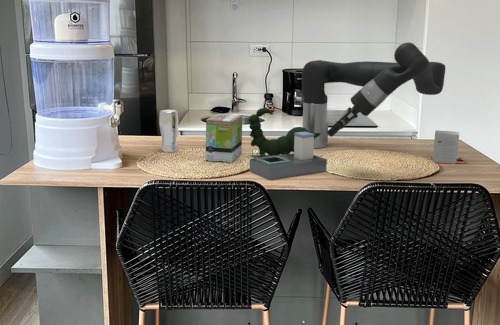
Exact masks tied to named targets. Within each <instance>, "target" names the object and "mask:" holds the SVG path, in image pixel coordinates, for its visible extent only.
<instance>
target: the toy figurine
mask: <svg viewBox="0 0 500 325" xmlns="http://www.w3.org/2000/svg"><path fill="white" fill-rule="evenodd" d="M265 114H270V115H273V114H274V113H273V111H272V110H271V109H270V108H267V107H261V108H259V109H257V110H256V113H254V114H251V115H250V116H249V118H248V121H249V122H250V124H249V129H250V130H251V131H250V134H249V136H250V137H251V138H252V140H251V141H250V146H251V147H256V148H257V147H258V150H259V151H258V154H259V156H265V154H267V155H268V156H278V155H286V154H292V153H294V137H295V136H294V133H297V132H309V131H308V130H307V129H305V128H303V126H296V127H293V128H291V129H290V130H288V132H287V134H286V135H282V136H279V137H278V138H277V139H275V138H274V139H268V138H266V136H265V135H264V132H263V129H262V125H261V124H262V123H261V122H260V117H263V116H264V115H265ZM309 133H312V132H309ZM313 134H314V139H315V138H316V137H318V136H319V135H320V133H313Z"/></svg>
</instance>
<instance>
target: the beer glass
mask: <svg viewBox="0 0 500 325" xmlns="http://www.w3.org/2000/svg"><path fill="white" fill-rule="evenodd" d="M158 117H159V118H158V119H159V120H158V121H159V122H158V123H159V130H160V135H161V150H160V151H161V152H162V151H163V152H162V153H175V152H178V143H177V139H178V138H177V137H178V132H179V114H178V110H177V109H161V110H159V116H158Z"/></svg>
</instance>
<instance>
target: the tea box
mask: <svg viewBox="0 0 500 325" xmlns="http://www.w3.org/2000/svg"><path fill="white" fill-rule="evenodd" d="M242 145H243V115H242V114H229V113H228V114H227V113H216V114H214V115H213V116H210V117H209V118H207V119H206V120H205V158H204V159H205V161H206V160H208V161H207V162H216V161H223V162H222V163H232V162H233V161H235V160H236V159H237V158H238V157H240V155H242V152H243V151H242V150H243V149H242V148H243V147H242ZM226 161H227V162H226Z"/></svg>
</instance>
